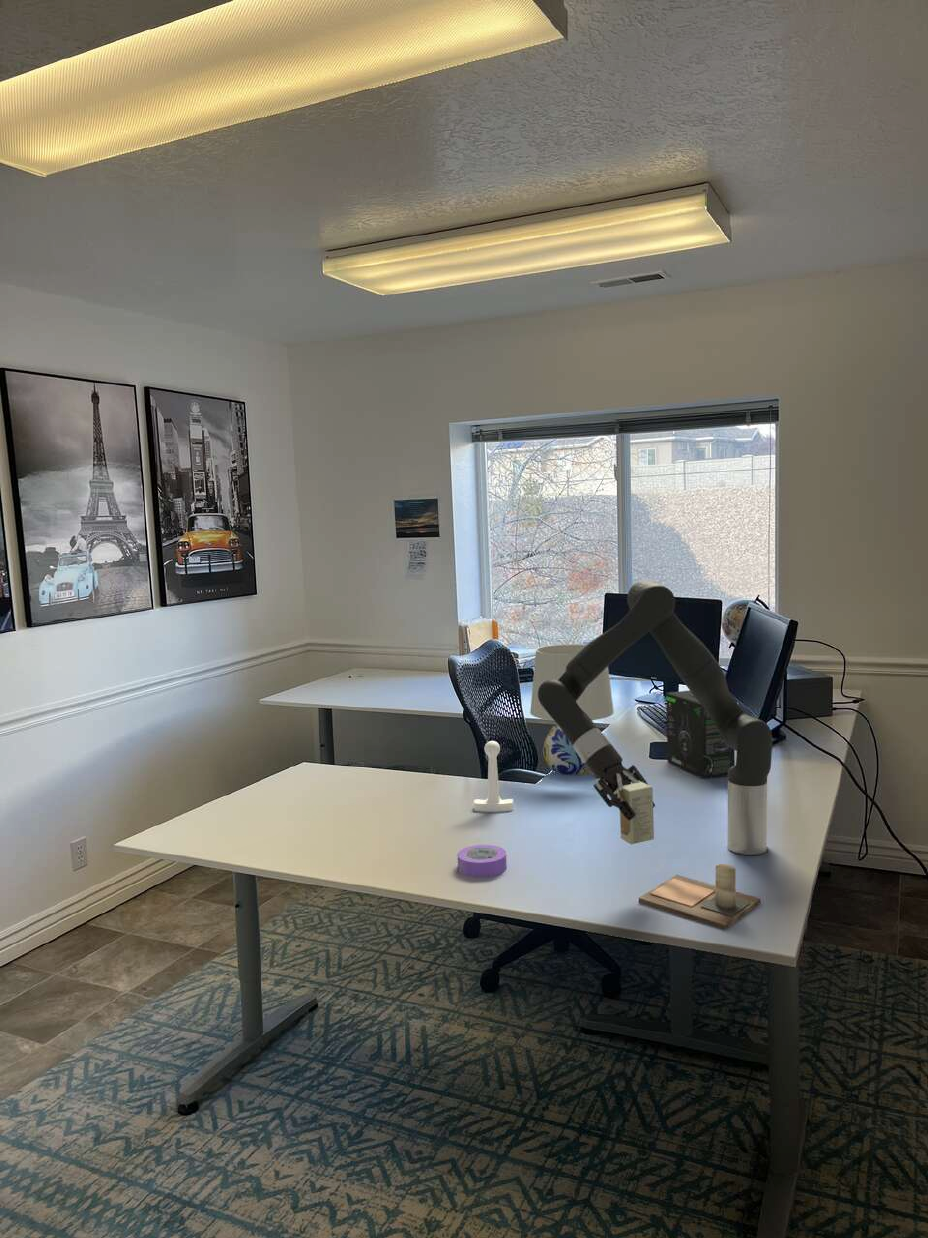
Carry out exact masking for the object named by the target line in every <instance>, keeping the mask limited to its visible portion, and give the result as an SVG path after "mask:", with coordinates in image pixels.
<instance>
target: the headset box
mask: <svg viewBox="0 0 928 1238" xmlns="http://www.w3.org/2000/svg"><path fill="white" fill-rule="evenodd" d="M665 694H666V731H667V732H666V738H667V739H666V740H667V741H666V742H667V743H666V747H667V750H666V751H667V753H666V754H667V763H669V764H670V765H673V766H675V767H677V768H678V769H681V770H683V771H685V772H688V773H690V774H692V775H695V776H697V777H698V778H702V779H710V778H719V777H725V776H727V777H728V770H729V768H730V767H732V766H735V765H736V759H735V758H736V757H735V756H736V755H735V752H736V751H735V750H734V749H732V748H731V747H729V746H728V745H727V744H726V743H725V741H724V740H723V738H722V736H721V735H720V733H719V731H718V729H717V727H716V726H715V724H714V722H713V720H712V718H711V717H710V715H709V714H708V712H707V711H706V710H705V708H704V707H703V706H702V705H701V704H700V702H699V701H698V700H697V699H696V697H695V696H694V695H693V693H692V692H691V691H690V690H683V691H682V690H681V691H669V692H666V693H665Z"/></svg>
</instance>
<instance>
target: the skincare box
mask: <svg viewBox="0 0 928 1238" xmlns="http://www.w3.org/2000/svg"><path fill="white" fill-rule="evenodd" d="M653 793H654V792H653V786H652V785H649V783H648V784H645V783H643V782H640V781H638V783H633V784H632V783H631V784H628V785H624V786H623V796H624V800H625V801H626V802H627V803H628V804H629V806H630V807H631V808H632V810H633V811H634V812H635V814H636V816H635V817H634V818H633V819H631V820H627V818H625V816H624V815H623V814H622V812H621V811H620V810H619V818H620V819H619V822H620V824H619V825H620V839H622V840H623V841H625V842H626V843H628V844H630V845H635V844H640V843H644V842H647V841H651V840H654V839H655V829H654V828H655V827H654V808H653V802H654V797H653ZM625 801H624V802H625Z"/></svg>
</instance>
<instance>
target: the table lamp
mask: <svg viewBox="0 0 928 1238" xmlns="http://www.w3.org/2000/svg"><path fill="white" fill-rule="evenodd" d="M586 645H587V644H576V643H572V644H568V643H567V644H555V645H554V644H552V645H551V644H550V645H544V646H540V647H537V648H536V649H535V655H534V656H535V659H534V668H533V680H532V688H531V689H532V690H531V698H530V699H531V702H530V712H529V714H530V715H531V716H532V717H535V718H538V719H542V720H546V721H554V720H553V718H552V717H551V716H550V715H549V714H548V712H547V711H546V710H545V709H544V708H543V706H542V705H541V703H540V702H539V699H538V689H539V687H540V685H541V684H542V683H543V682H545V681H547V680H558V679H559V678H560V677H561V676H562V675H563V674H564V673H565V671H566V666H567V665H568V663H569V662H570V661H571V660H572V659H573V658H574V657H575V656H576V655H577V654H578V653H579V652H580V651H581V650H582V649H583V648H584V647H585V646H586ZM611 687H612V686H611V679H610V673H609V666H608V667H607V668H606V669H605V670H604V671H603V672H602V673H601V674H600V675H599V676H598V677H597V678H596V679H594V680H593V681H592V682H591V683H590V684H589V685H588V686H587V687H586V689H585V690H584V692H583V693H582V694H581V696H580V697H579V698H578V700H577V701H576V702H577V704H578V705H579V707H580V708H581V709H582V710H583V711H584V712H585V713H586V714H587V715H588V716H589V717H590V719H591V720H592V721H596V720H601V719H606V718H609V717H611V716H612V715H613V714H614V713H615V711H614V704H613V697H612V688H611ZM554 722H555V721H554ZM542 751H543V758H544V759H545V762H546V764H547V766H548V767H549V769H550V770H551V771H552V772H553V771H555V772H554V773H555V774H558V775H562V776H582V775H583V776H584V775H587V774H590V773H591V772H590V770H589V769H588V768H587V766H586V765H585V764H584V762H583V761H582V760H581V758H580V757H579V755H578V754H577V752H576V750H575V748H574V747H573V745H572V744H571V743H570V741H569V740H568V739H567V737H566V736H565V734H564V733H563V731H562V730H561V728H560V726H559V725H558V724H557V723H556V722H555V723H554V725H553V726H552V727H551V729H550V730H549V732H548V733H547V735H546V737H545V739H544V742H543V748H542ZM591 774H592V773H591Z"/></svg>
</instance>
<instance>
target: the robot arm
mask: <svg viewBox="0 0 928 1238" xmlns="http://www.w3.org/2000/svg"><path fill="white" fill-rule="evenodd" d="M675 599H676V598H675V595H674V593H673V592H672V590H670V589H669V588H668V587H666V586H664V585H662V584H660V583H657V582H655V581H653V580H652V581H651V580H641V581H640V580H639V581H638V582H636V583H634V584H633V585H632V586H631V587H630V589H629V590H628V593H627V600H626V601H627V605H628V609H629V611H628V613H626V615H624V617H623V618H622V619H621V620H620V621H619V622H617V623H616V624H615V625H614V626H613V627H611V628H609V629H608V630H607V631H605V632H603V633H602V634H600V635H599V636H596V638H594V639H592V640H591V641H589V643H587V644H585V645H586V646H585V647H584V648H583V649H582V650H581V651H580V652H579V653H578V654H577V655H576V656H575V657H574V658H573V659H572V660H571V661H570V662H569V663H568V665H567V666H566V671H565V673H564V674H563V675H562V676H561V677H560V678H559V679H558V680H547V681H545V682H543V683H542V684H541V685H540V687H539V689H538V699H539V702H540V703H541V705H542V706H543V708H544V709H545V710H546V711H547V712H548V714H549V715H550V716H551V717H552V718H553V720H554V722H555V724H556V723H557V724H558V725H559V726H560V728H561V730H562V731H563V733H564V734H565V736H566V737H567V739H568V740H569V741H570V743H571V744H572V745H573V747H574V748H575V750H576V752H577V754H578V755H579V757H580V758H581V760H582V761H583V762H584V764H585V765H586V766H587V768H588V769H589V770H590V772H591V774H592V776H593V777H594V778H595V779H596V780H597V781H596V782H595V783H594V784H593V788H594V789H595V790H596V791H597V793H598V795H600V797H601V799H602V800H603V801H604V803H605V804H606V805H607V807H609V808H612V807H615V808H618V810H619V812H620V811H621V812H622V814H623V815H624V816H625V818H627V820H631V819H633V818H634V817H635V816H636V814H635V812H634V811H633V810H632V808H631V807H630V806H629V804H628V803H627V802H626V801H625V800H624V796H623V786H624V785H628V784H633V783H638V782H643V783H645V784H648V785H649V783H648V782H647V780H646V779H645V778H644V776H643V775H642V774H641V773H640V771H639V770H638V768H637V767H636V766H635V765H634V764H633V765H631V766H630V767H629V768H626V767H624V765H623V757H622V756H621V755H620V753H619V752H618V751H617V749H616V748H615V747H614V746H613V744H612V743H611V742H610V740H609V739H608V738H607V736H606V735H605V734H604V733H603V732H602V731H601V730H600V728H598V726H597V725H596V724H595V723H594V720H591V719H590V717H589V716H588V715H587V714H586V713H585V712H584V711H583V710H582V709H581V708H580V707H579V705H578V704H577V702H576V701H577V700H578V698H579V697H580V696H581V694H582V693H583V692H584V690H585V689H586V687H587V686H588V685H589V684H590V683H591V682H592V681H593V680H594V679H596V678H597V677H598V676H599V675H600V674H601V673H602V672H603V671H604V670H605V669H606V668H607V667H608V668H609V666H610V665H611V664H612V663H613V662H614V661H615V660H616V659H617V658H619V656H620V655H622V654H623V653H624V652H625V651H626V650H627V649H628V648H630V647H631V646H633V644H635V643H636V642H637V641H639V640H640V639H641V638H642V637H644V636H645V635H646V634H648V633H650V634H651V635H652V636H653V638H654V639H655V641H656V642H657V643H658V645H659V647H660V649H661V650H662V652H663V654H664V655H665V657H666V659H667V660H668V662H669V663H670V664H671V665H672V667H673V669H674V671H675V672H676V673H677V675H678V677H679V678H680V679H681V681H682V682H683V683H684V685H685V686H686V687H687V689H689V690H690V691H691V692H692V693H693V695H694V696H695V697H696V699H697V700H698V701H699V702H700V704H701V705H702V706H703V707H704V708H705V710H706V711H707V712H708V714H709V715H710V717H711V718H712V720H713V722H714V724H715V726H716V727H717V729H718V731H719V733H720V735H721V736H722V738H723V740H724V741H725V743H726V744H727V745H728V746H729V747H731V748H732V749H734V751H735V752H736V757H735V758H736V759H735V766H732V767H730V768H729V770H728V775H727V849H728V850H729V851H731V852H733V853H735V854H740V855H743V856H745V855H746V856H757V855H761V854H764V853H766V852H767V848H768V847H767V843H768V842H767V841H768V840H767V839H768V776H769V773H770V772H771V769H772V768H771V767H772V755H773V754H772V753H773V734H772V731H771V729H770V726H769V725H768V724H767V723H766V722H765V721H763V720H762V719H759V718H756V717H754V716H752V715H749V714H748V713H746V712H745V711H744V710H743V709H742V707H741V706H740V705H739V704H738V702H737V701H736V700H735V699H734V697H733V696H732V694H731V692H730V691H729V687H728V684H727V680H726V679H727V678H726V676H725V672H724V670H723V668H722V667H721V665H720V663H719V662H718V661H717V659H716V658H715V656H714V655H713V653H711V651H710V650H709V649H708V648H707V646H706V645H705V644H704V643H703V642H702V641H701V639H699V638H698V637H697V636H696V635H695V634H694V633H693V632H692V631H691V630H689V629H688V628H687V627H686V626H685V625H684V624H683V622H682V621H681V620H680V619H679V618H678V616H677V615H676V613H675V611H674V610H675V608H676V607H675V606H676V600H675ZM689 690H688V691H689ZM553 720H552V721H553ZM624 801H625V802H624ZM655 807H656V804H655V802H654V801H653V809H654V808H655Z"/></svg>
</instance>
